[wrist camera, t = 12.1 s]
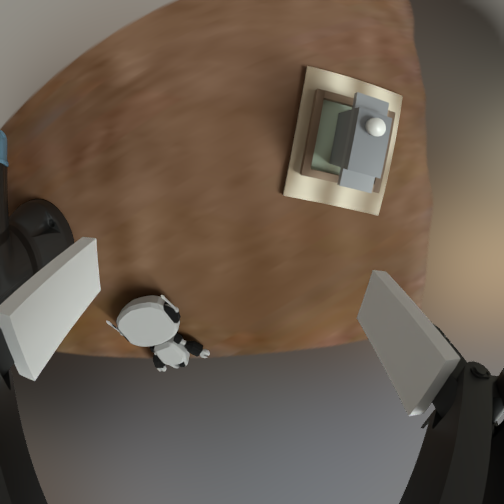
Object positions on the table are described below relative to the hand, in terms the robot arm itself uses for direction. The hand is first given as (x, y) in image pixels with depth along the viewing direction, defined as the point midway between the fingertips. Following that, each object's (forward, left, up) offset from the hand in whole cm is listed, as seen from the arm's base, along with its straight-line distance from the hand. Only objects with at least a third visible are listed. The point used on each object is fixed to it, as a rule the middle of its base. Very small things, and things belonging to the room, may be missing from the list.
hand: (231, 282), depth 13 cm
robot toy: (-10, -25, -28) cm, 39 cm away
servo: (+12, +9, -26) cm, 30 cm away
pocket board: (+12, +9, -27) cm, 31 cm away
